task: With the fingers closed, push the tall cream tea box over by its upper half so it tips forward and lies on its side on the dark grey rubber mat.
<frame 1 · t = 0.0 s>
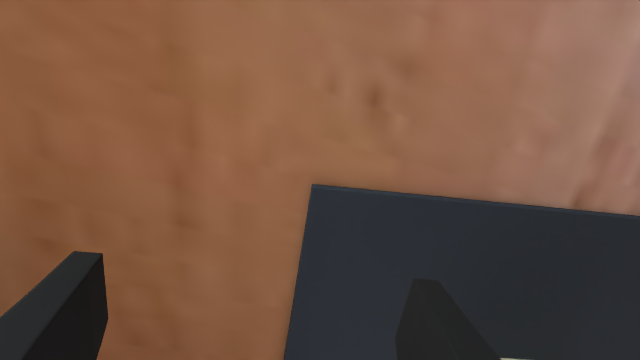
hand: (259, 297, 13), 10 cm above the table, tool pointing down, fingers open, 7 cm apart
mat: (475, 335, 28), on the table
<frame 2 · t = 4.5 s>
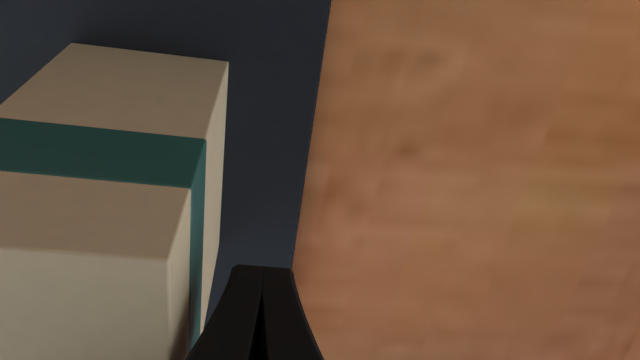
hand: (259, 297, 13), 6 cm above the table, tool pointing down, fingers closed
tea box: (153, 155, 17), resting on mat, touching gripper
mat: (52, 191, 18), on the table
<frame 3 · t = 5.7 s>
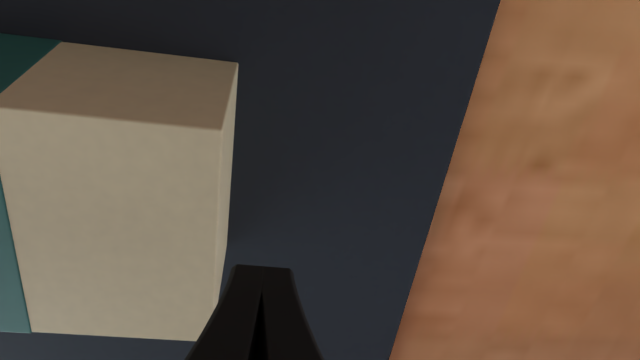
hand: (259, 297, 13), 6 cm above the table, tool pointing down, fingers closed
tea box: (225, 201, 16), point 3 cm above the table, tilted 90°, touching mat
mat: (194, 204, 19), on the table
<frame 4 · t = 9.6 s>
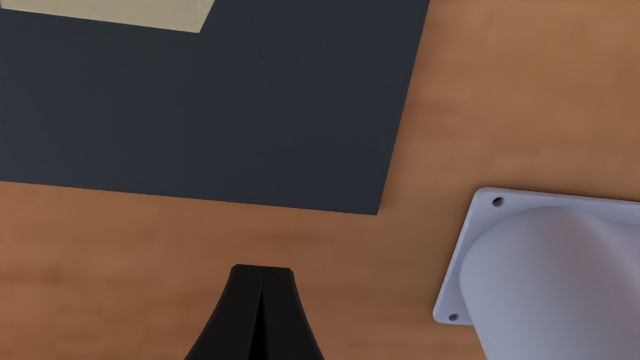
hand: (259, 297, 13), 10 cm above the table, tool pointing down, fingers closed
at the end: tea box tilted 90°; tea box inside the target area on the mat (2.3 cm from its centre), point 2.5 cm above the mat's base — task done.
